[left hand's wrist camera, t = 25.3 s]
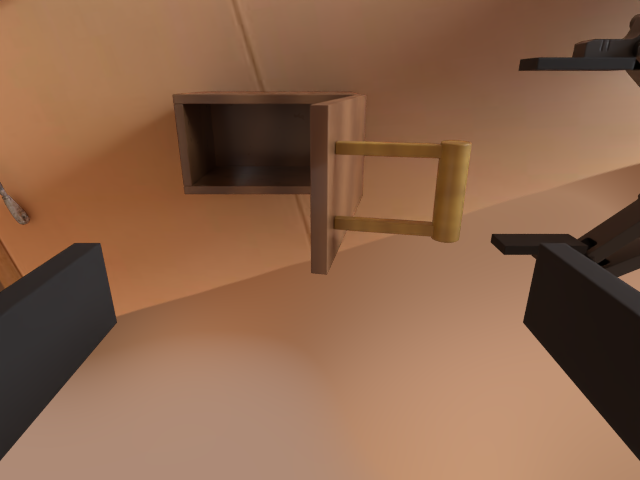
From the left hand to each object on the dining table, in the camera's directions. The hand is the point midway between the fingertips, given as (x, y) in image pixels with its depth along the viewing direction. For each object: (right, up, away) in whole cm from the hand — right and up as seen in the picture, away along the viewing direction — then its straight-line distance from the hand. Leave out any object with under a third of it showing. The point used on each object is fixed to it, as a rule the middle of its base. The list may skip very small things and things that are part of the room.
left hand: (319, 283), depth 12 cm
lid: (+1, +7, +18) cm, 19 cm away
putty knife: (-39, +7, +39) cm, 56 cm away
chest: (-5, +14, +37) cm, 40 cm away
